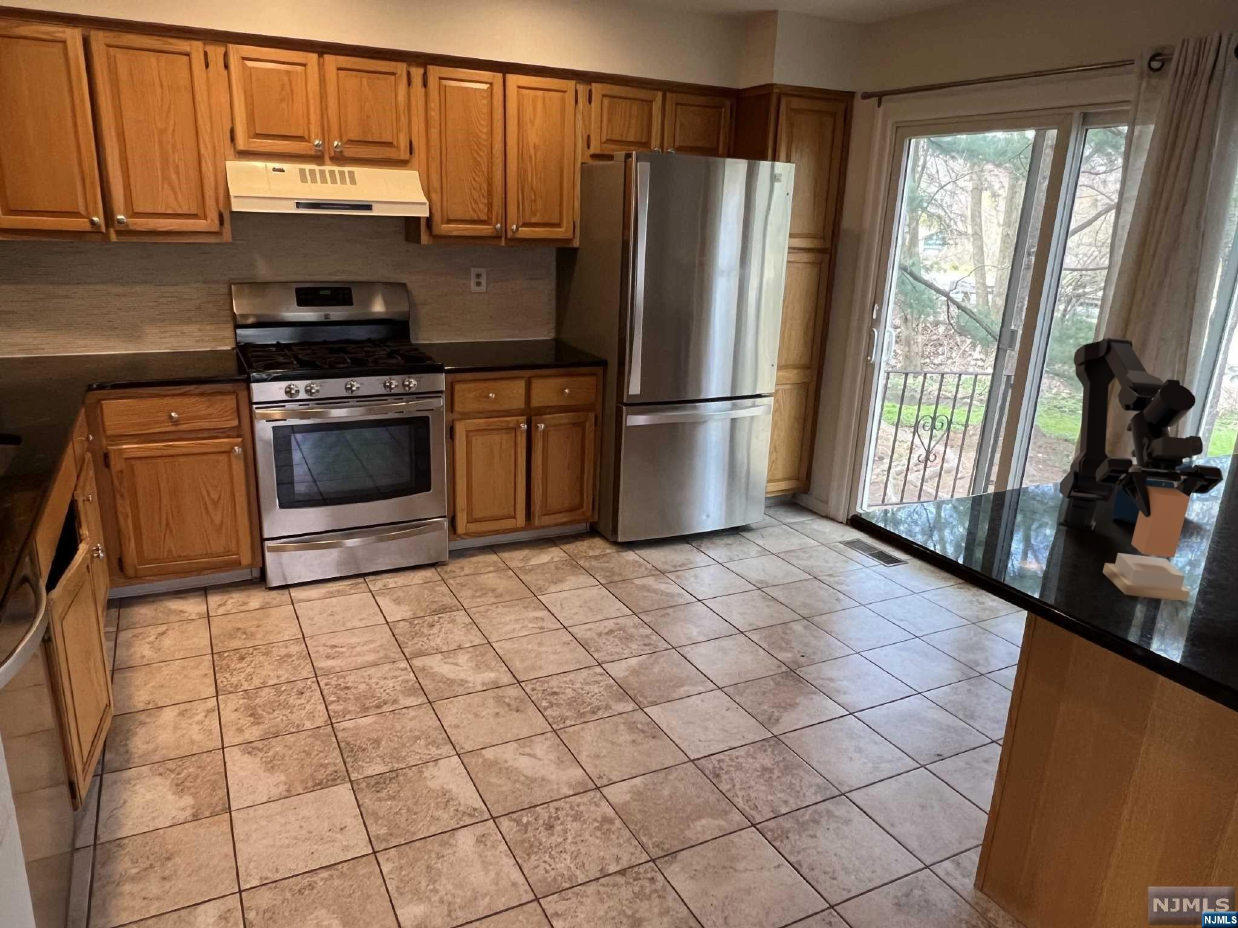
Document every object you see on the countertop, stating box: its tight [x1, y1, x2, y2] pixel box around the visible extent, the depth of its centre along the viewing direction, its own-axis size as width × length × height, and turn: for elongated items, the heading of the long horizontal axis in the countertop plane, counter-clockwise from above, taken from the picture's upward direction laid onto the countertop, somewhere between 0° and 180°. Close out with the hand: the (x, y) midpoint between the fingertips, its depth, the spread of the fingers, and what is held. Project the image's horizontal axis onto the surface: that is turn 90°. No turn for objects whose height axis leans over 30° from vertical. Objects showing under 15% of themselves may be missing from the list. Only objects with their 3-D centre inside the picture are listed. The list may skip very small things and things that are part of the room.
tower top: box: [1114, 552, 1186, 589], centre depth 150 cm, size 8×8×2 cm
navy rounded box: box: [1111, 429, 1193, 526], centre depth 188 cm, size 21×9×20 cm, turn 126°
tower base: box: [1102, 562, 1191, 602], centre depth 151 cm, size 10×10×2 cm
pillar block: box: [1131, 486, 1191, 558], centre depth 148 cm, size 5×5×11 cm
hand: (1164, 517), depth 146 cm, fingers closed on pillar block, 5 cm apart
